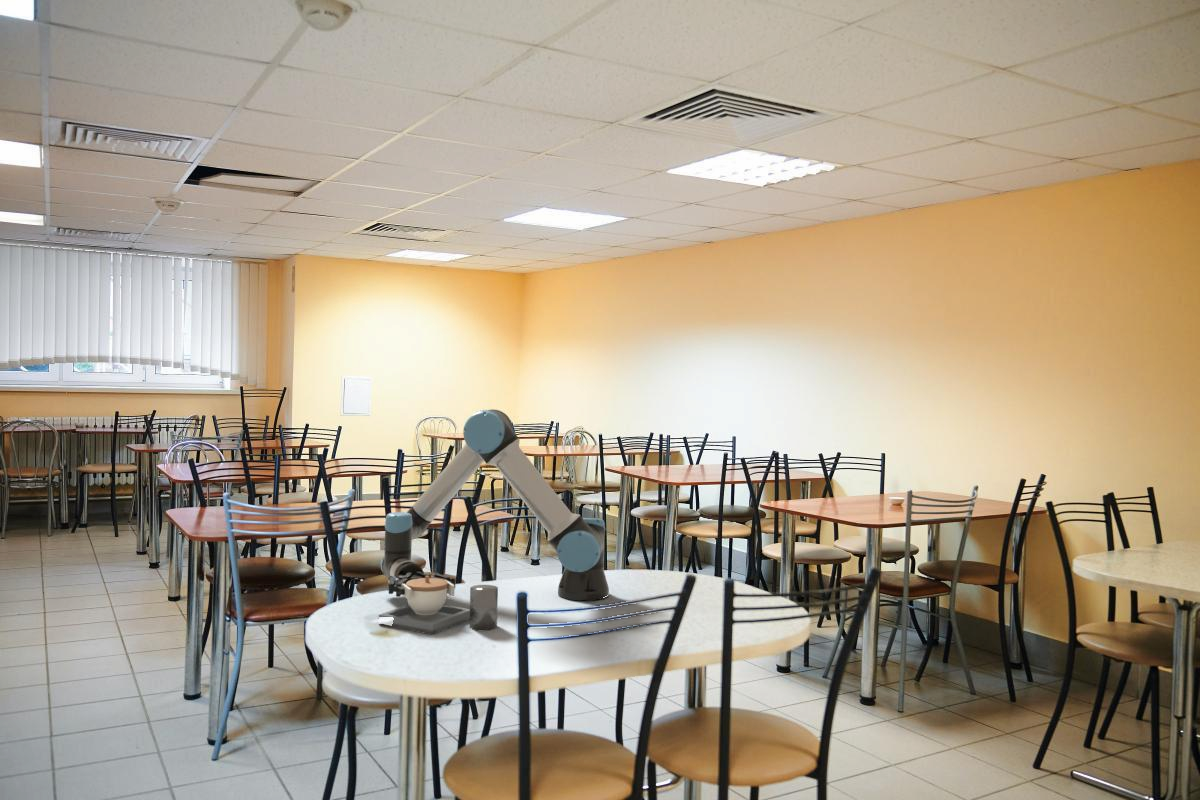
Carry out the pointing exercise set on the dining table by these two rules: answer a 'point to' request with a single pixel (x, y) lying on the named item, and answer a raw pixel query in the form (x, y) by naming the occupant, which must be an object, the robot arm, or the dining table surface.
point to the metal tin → (483, 607)
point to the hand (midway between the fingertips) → (431, 592)
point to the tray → (427, 618)
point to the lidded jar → (427, 595)
